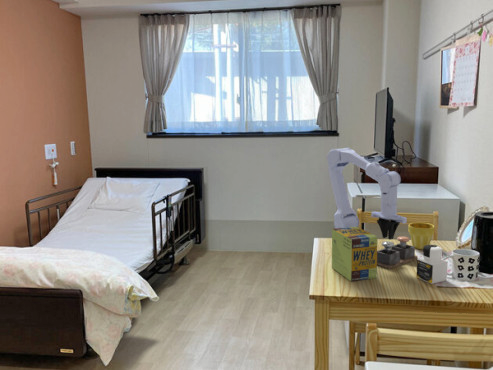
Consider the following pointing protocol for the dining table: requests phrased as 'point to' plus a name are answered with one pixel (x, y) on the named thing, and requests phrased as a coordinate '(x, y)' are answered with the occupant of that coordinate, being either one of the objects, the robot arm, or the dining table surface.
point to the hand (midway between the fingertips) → (388, 238)
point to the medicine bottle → (432, 265)
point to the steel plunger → (387, 246)
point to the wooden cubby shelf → (396, 256)
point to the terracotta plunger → (403, 241)
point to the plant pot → (420, 234)
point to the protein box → (354, 253)
